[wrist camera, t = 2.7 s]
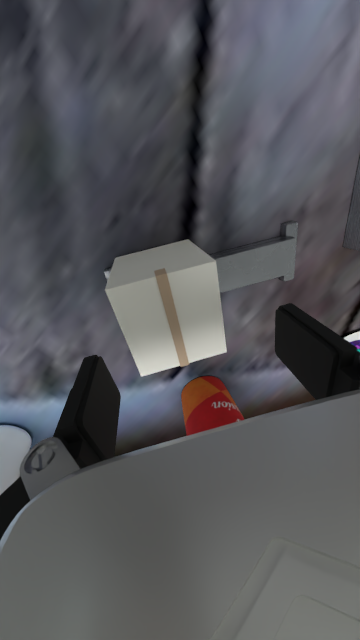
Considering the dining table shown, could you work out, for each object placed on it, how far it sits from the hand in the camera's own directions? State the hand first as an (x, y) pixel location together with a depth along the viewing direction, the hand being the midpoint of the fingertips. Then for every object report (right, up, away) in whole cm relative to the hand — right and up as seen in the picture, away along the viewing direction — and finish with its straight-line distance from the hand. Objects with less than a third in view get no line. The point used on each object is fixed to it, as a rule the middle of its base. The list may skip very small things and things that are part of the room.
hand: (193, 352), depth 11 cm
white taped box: (-2, +5, +8) cm, 9 cm away
